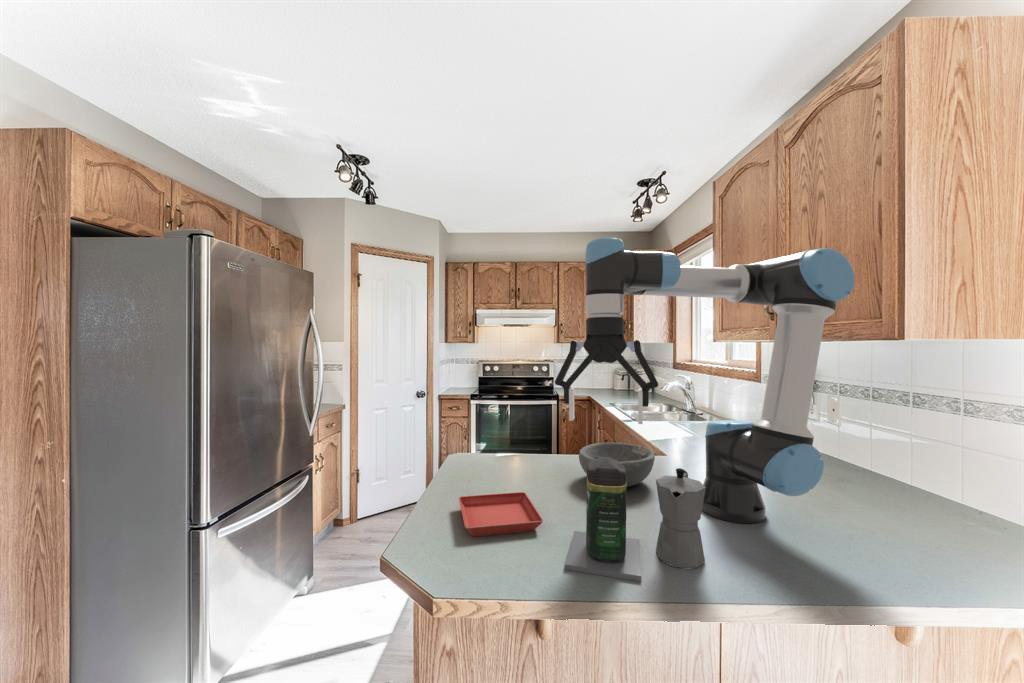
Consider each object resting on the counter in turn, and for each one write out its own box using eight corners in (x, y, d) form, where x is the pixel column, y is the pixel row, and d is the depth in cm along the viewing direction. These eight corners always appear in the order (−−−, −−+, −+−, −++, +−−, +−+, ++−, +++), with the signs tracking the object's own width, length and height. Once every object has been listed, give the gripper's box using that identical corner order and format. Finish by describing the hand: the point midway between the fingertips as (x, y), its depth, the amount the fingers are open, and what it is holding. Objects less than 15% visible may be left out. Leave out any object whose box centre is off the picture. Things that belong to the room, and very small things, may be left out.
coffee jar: (629, 566, 77) (629, 469, 77) (587, 562, 78) (587, 467, 78) (623, 540, 87) (623, 454, 87) (585, 538, 88) (585, 452, 88)
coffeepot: (703, 580, 74) (703, 482, 74) (649, 566, 79) (650, 474, 79) (707, 543, 88) (708, 460, 88) (662, 533, 92) (662, 454, 92)
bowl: (584, 467, 139) (584, 438, 139) (653, 473, 132) (653, 443, 132) (573, 491, 117) (573, 457, 117) (655, 501, 110) (655, 464, 110)
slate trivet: (639, 543, 87) (639, 539, 87) (641, 581, 74) (641, 576, 74) (574, 535, 91) (574, 530, 91) (564, 569, 78) (564, 564, 78)
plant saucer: (524, 502, 110) (524, 490, 110) (544, 534, 93) (544, 520, 93) (458, 509, 106) (458, 496, 106) (465, 543, 89) (465, 528, 89)
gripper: (668, 316, 82) (669, 420, 83) (547, 318, 89) (548, 414, 89) (672, 314, 75) (672, 428, 75) (540, 317, 82) (541, 421, 82)
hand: (605, 421), depth 82 cm, fingers open, 13 cm apart
